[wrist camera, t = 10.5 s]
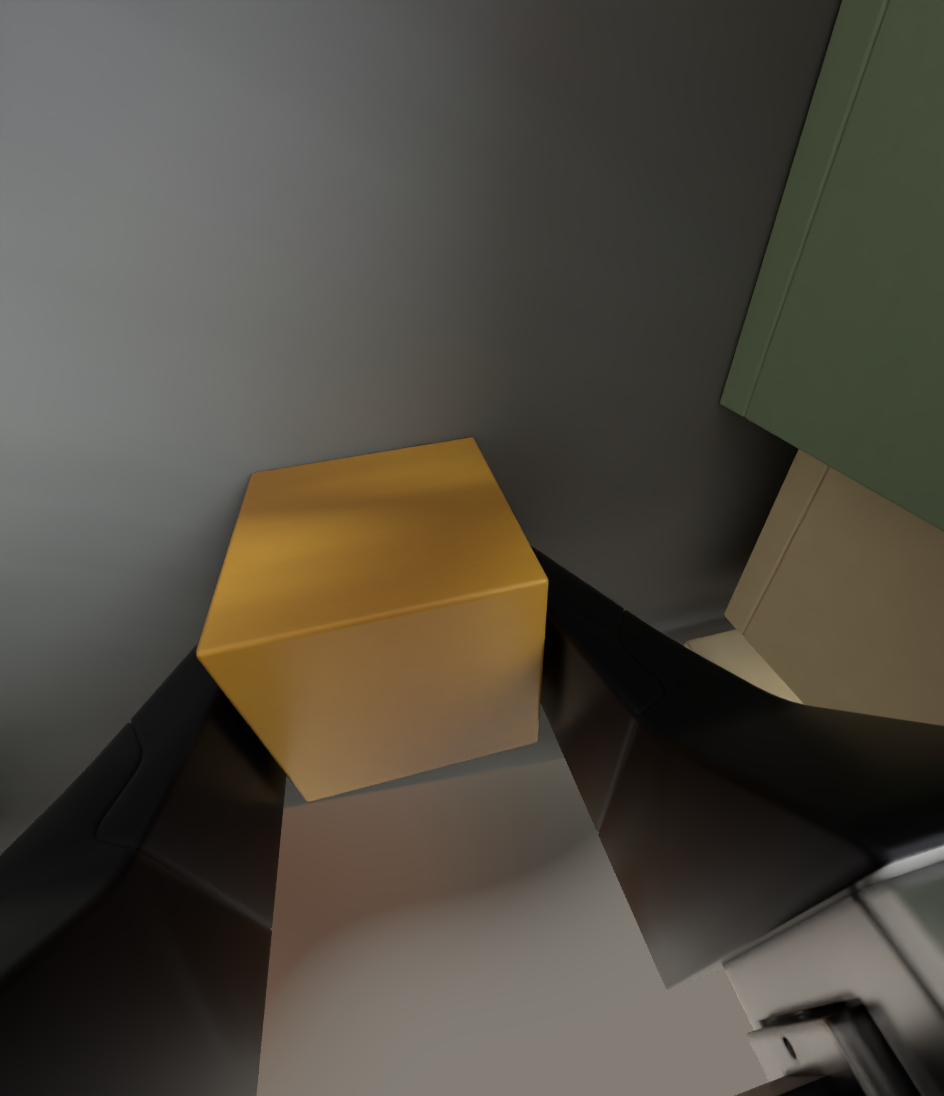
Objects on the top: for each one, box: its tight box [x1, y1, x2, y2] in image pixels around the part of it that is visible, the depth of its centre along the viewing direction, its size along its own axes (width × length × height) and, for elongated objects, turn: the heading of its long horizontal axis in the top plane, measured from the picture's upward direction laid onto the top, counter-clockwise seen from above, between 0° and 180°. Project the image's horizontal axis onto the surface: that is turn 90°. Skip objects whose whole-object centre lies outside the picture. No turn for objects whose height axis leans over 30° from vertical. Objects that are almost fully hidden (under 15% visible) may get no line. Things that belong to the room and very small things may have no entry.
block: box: [196, 437, 548, 802], centre depth 9 cm, size 4×4×4 cm
